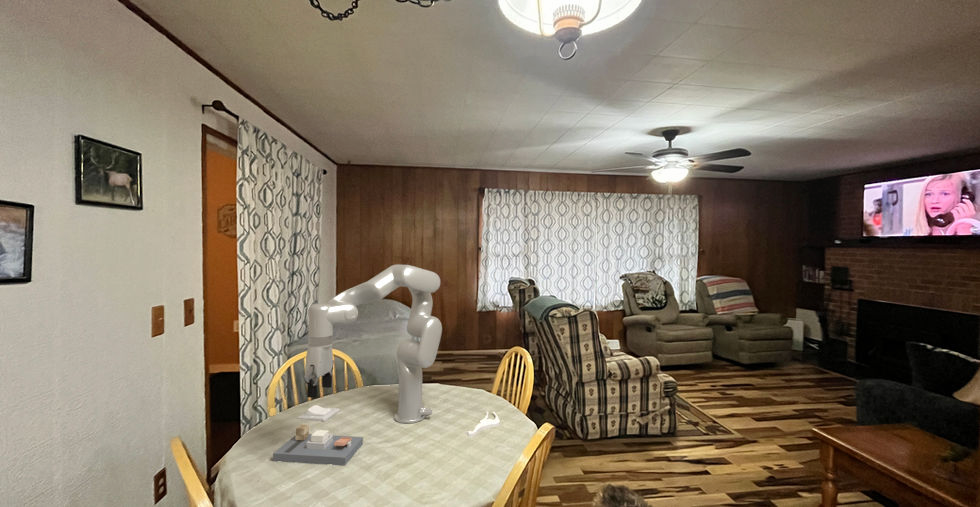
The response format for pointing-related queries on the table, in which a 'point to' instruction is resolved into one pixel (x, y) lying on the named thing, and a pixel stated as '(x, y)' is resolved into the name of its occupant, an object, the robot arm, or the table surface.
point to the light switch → (319, 413)
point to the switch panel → (318, 451)
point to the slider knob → (302, 432)
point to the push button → (320, 436)
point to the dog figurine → (484, 425)
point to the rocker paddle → (343, 441)
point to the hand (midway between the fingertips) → (319, 392)
